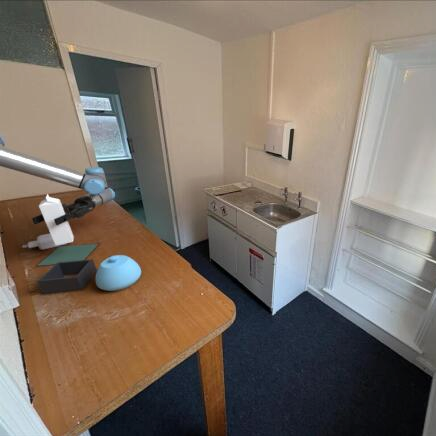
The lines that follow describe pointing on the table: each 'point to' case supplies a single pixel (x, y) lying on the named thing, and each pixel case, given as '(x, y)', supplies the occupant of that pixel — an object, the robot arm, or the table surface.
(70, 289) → the box
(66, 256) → the mat
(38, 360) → the table surface
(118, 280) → the sugar bowl
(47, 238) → the glue bottle
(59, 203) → the milk
